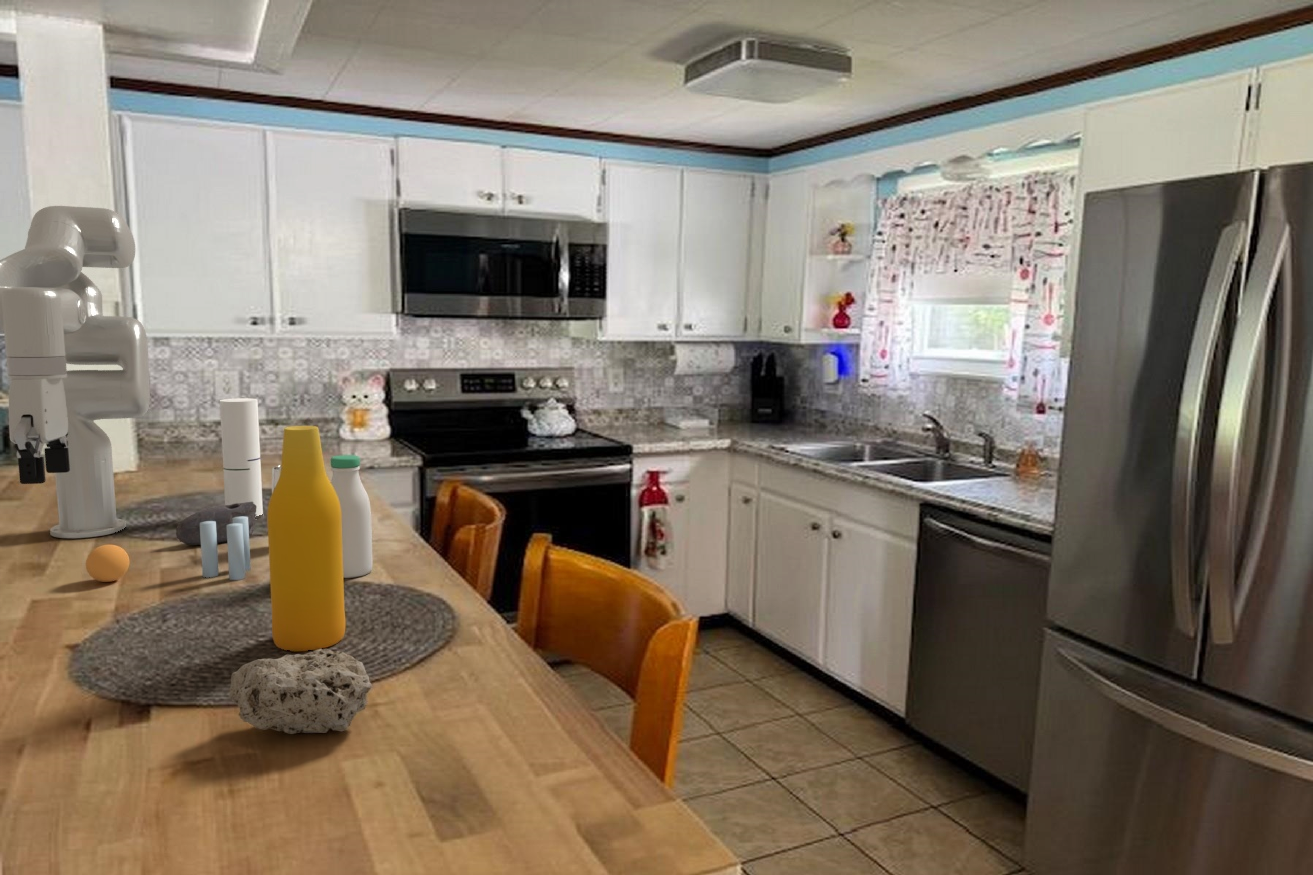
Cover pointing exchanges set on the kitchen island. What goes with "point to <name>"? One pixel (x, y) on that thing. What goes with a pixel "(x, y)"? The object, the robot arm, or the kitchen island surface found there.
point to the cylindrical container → (241, 452)
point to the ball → (107, 563)
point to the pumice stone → (301, 692)
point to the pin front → (209, 549)
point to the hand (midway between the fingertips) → (46, 477)
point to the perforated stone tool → (221, 515)
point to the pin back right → (245, 539)
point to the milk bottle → (353, 516)
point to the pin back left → (235, 551)
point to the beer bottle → (305, 548)
